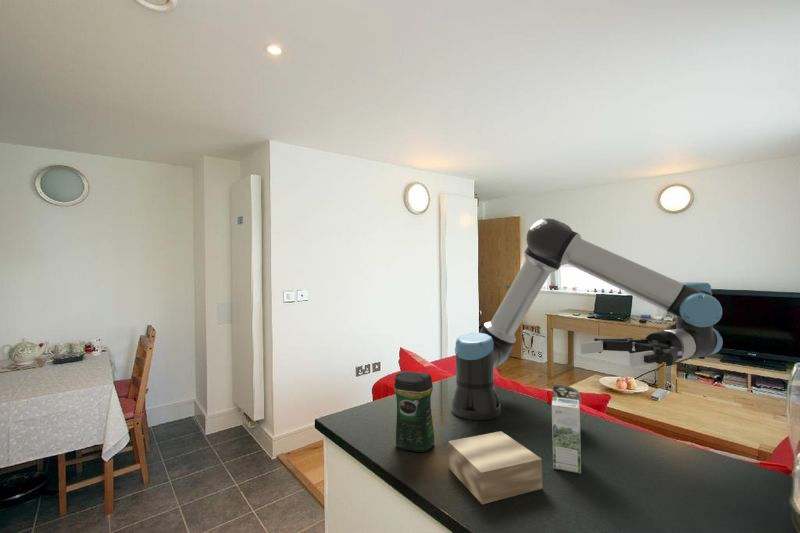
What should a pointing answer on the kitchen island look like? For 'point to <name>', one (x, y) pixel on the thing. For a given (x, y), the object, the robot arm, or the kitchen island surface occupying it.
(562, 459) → the syrup box
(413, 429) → the coffee jar
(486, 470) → the oak plinth
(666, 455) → the kitchen island surface
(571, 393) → the food container
